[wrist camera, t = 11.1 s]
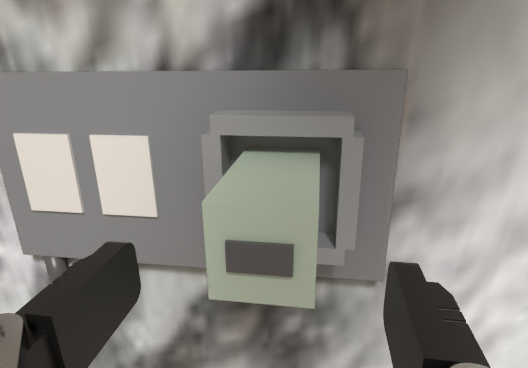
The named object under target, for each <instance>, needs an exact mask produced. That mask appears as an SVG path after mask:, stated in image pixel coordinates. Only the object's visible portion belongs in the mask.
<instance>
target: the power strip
mask: <svg viewBox="0 0 528 368" xmlns="http://www.w3.org/2000/svg"><path fill="white" fill-rule="evenodd" d="M407 71H408V70H405V69H363V70H224V71H84V72H0V169H1V172H2V176H3V180H4V184H5V187H6V191H7V195H8V199H9V202H10V206H11V210H12V214H13V217H14V221H15V225H16V229H17V232H18V236H19V240H20V244H21V247H22V251H23V254H26V255H39V256H44V260H45V264H46V268H47V272H48V276H49V280H50V284H52V282H53V281H54V280H55V279H56V278H57V277H59V276H62V273H63V272H64V271H66V270H67V265H66V261H65V258H78V259H84V258H85V257H87V256H89V255H92V254H93V253H94V252H95V251H96V250H98V249H99V248H100V247H101V246H102V245H103V244H104V243H106V242H108V241H116V242H130V243H132V244H133V245H134V247H135V250H136V257H137V263H144V264H157V265H170V266H184V267H197V268H206V254H205V240H204V227H203V213H202V201H203V200H204V199H205V197H206V196H207V195H208V194H209V193H210V191H211V190H212V189H213V188H214V187H215V185H216V184H217V183H218V182H219V181H220V179H221V178H222V177H223V176H224V175H225V173H226V172H227V171H228V170H229V169H230V167H231V166H232V165H233V164H234V163H235V161H236V160H237V159H238V158H239V157H240V155H241V154H242V153H243V152H244V150H245V149H246V148H283V149H319V150H320V185H319V221H318V243H317V265H316V277H328V278H341V279H354V280H367V281H380V282H383V278H384V269H385V261H386V252H387V243H388V235H389V226H390V218H391V209H392V200H393V192H394V183H395V175H396V166H397V157H398V149H399V140H400V132H401V123H402V114H403V106H404V97H405V89H406V80H407Z"/></svg>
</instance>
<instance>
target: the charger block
mask: <svg viewBox="0 0 528 368" xmlns="http://www.w3.org/2000/svg"><path fill="white" fill-rule="evenodd" d="M319 185H320V150H319V149H283V148H246V149H245V150H244V152H243V153H242V154H241V155H240V157H239V158H238V159H237V160H236V161H235V163H234V164H233V165H232V166H231V167H230V169H229V170H228V171H227V172H226V173H225V175H224V176H223V177H222V178H221V179H220V181H219V182H218V183H217V184H216V185H215V187H214V188H213V189H212V190H211V191H210V193H209V194H208V195H207V196H206V197H205V199H204V200H203V201H202V213H203V227H204V240H205V254H206V268H207V282H208V296H209V299H213V300H224V301H235V302H246V303H257V304H268V305H279V306H290V307H301V308H312V309H315V287H316V265H317V243H318V221H319Z"/></svg>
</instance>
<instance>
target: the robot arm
mask: <svg viewBox="0 0 528 368" xmlns="http://www.w3.org/2000/svg"><path fill="white" fill-rule="evenodd" d="M140 289H141V282H140V276H139V269H138V263H137V257H136V250H135V247H134V245H133V244H132V243H130V242H116V241H108V242H106V243H104V244H103V245H102V246H101V247H100V248H99V249H98V250H96V251H95V252H94V253H93V254H92V255H89V256H87V257H85V258H84V259H82V260H80V261H78V262H76V263H74V264H73V265H72V266H70V267H69V268H68V269H67V270H66V271H64V272H63V273H62V276H59V277H57V278H56V279H55V280H54V281H53V282H52V284H49V285H48V286H47V287H46V288H44V289H43V290H42V291H41V292H40V293H39V294H37V295H36V296H35V297H34V298H33V299H31V300H30V301H29V302H28V303H27V304H26V305H24V306H23V307H22V308H21V309H20V310H18V311H17V312H16V313H15V314H12V313H4V314H0V368H88V366H89V365H90V364H91V362H92V361H93V360H94V358H95V357H96V356H97V354H98V353H99V352H100V350H101V349H102V348H103V346H104V345H105V344H106V342H107V341H108V340H109V338H110V337H111V336H112V334H113V333H114V332H115V330H116V329H117V328H118V326H119V325H120V324H121V322H122V321H123V320H124V318H125V317H126V316H127V314H128V313H129V312H130V310H131V309H132V308H133V306H134V305H135V303H136V302H137V300H138V298H139V294H140ZM383 316H384V327H385V332H386V336H387V341H388V346H389V350H390V355H391V359H392V364H393V368H491V367H490V366H489V364H488V362H487V360H486V358H485V356H484V354H483V352H482V350H481V348H480V347H479V345H478V343H477V341H476V339H475V337H474V335H473V333H472V331H471V330H470V328H469V326H468V324H466V320H465V318H464V316H463V314H462V312H460V309H459V307H458V305H457V303H456V301H455V299H454V297H453V295H452V294H451V293H449V292H448V291H447V290H446V289H445V288H444V287H443V286H441V285H440V284H439V283H436V282H426V280H425V277H424V275H423V273H422V271H421V268H420V266H419V265H418V264H417V263H404V262H390V264H389V268H388V275H387V283H386V292H385V300H384V311H383Z"/></svg>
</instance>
